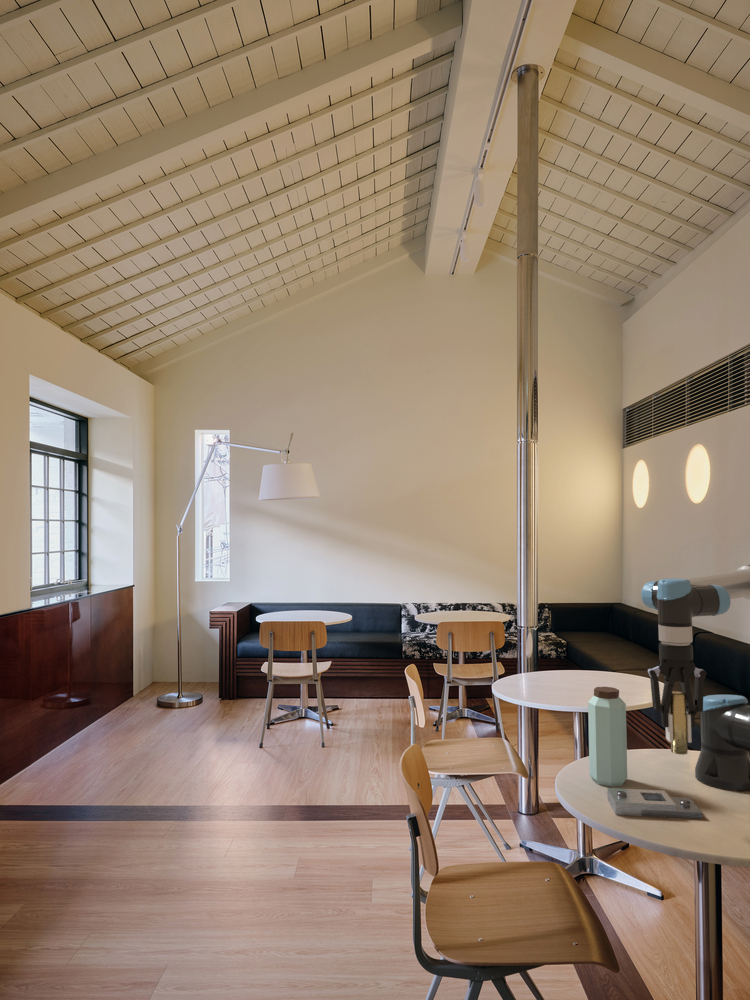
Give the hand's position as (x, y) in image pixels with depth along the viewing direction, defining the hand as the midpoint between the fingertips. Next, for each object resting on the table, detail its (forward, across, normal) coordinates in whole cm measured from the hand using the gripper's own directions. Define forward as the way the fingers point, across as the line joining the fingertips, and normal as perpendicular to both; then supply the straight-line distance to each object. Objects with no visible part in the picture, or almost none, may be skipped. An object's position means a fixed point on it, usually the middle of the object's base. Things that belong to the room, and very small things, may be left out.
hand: (678, 740), depth 158 cm
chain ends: (+18, +5, -5) cm, 20 cm away
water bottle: (+19, +11, -23) cm, 32 cm away
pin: (+3, 0, 0) cm, 3 cm away
